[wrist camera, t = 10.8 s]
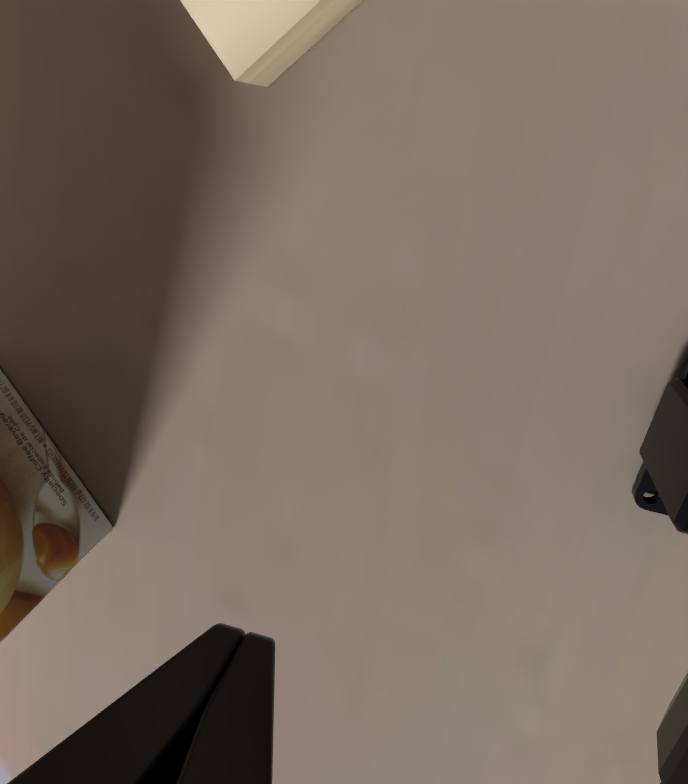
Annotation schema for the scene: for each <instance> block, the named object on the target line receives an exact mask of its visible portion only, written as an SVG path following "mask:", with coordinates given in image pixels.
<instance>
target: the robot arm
mask: <svg viewBox="0 0 688 784" xmlns="http://www.w3.org/2000/svg"><path fill="white" fill-rule="evenodd" d="M640 455H641V457H642V459H643V461H644V462H643V464H642V466H641V469H640V471H639V473H638V476H637V478H636V480H635V483H634V485H633V488H632V494H633V497H634V499H635V502H636V504H637V505H638V506H639V507H640V508H643V509H645V510H649V511H653V512H657V513H661V514H665V515H669V517H670V519H671V521H672V523H673V524H674V526H675V528H676V529H677V530H678V531H679V532H682V533H686V534H688V359H687V362H686V364H685V366H684V369H683V371H682V373H681V376H680V378H676V379H674V380H672V381H671V382H669V383H668V384H667V386H666V389H665V391H664V394H663V396H662V398H661V401H660V403H659V405H658V408H657V410H656V413H655V415H654V417H653V420H652V422H651V424H650V427H649V429H648V431H647V434H646V436H645V439H644V441H643V443H642V446H641V448H640ZM649 490H655V491H657V493H656V494H655V495H654V496H652V497H645V496H643V495H644V493H645V492H647V491H649ZM274 678H275V641H274V640H273V639H272V638H270V637H266V636H263V635H259V634H256V633H253V632H249V633H247V634H245V632H244V631H243V630H242V629H239V628H236V627H233V626H229V625H226V624H221V623H219V624H216V625H214V626H212V627H211V628H210V629H209V630H207V631H206V632H205V633H203V634H202V635H201V636H199V637H198V638H197V639H195V640H194V641H193V642H192V643H190V644H189V645H188V646H186V647H185V648H184V649H182V650H181V651H180V652H179V653H177V654H176V655H175V656H173V657H172V658H171V659H169V660H168V661H167V662H165V663H164V664H163V665H162V666H160V667H159V668H158V669H156V670H155V671H154V672H152V673H151V674H150V675H148V676H147V677H146V678H145V679H143V680H142V681H141V682H139V683H138V684H137V685H135V686H134V687H133V688H132V689H130V690H129V691H128V692H126V693H125V694H124V695H122V696H121V697H120V698H118V699H117V700H116V701H115V702H113V703H112V704H111V705H109V706H108V707H107V708H105V709H104V710H103V711H101V712H100V713H99V714H98V715H96V716H95V717H94V718H92V719H91V720H90V721H88V722H87V723H86V724H85V725H83V726H82V727H81V728H79V729H78V730H77V731H75V732H74V733H73V734H71V735H70V736H69V737H68V738H66V739H65V740H64V741H62V742H61V743H60V744H58V745H57V746H56V747H54V748H53V749H52V750H51V751H49V752H48V753H47V754H45V755H44V756H43V757H41V758H40V759H39V760H38V761H36V762H35V763H34V764H32V765H31V766H30V767H28V768H27V769H26V770H24V771H23V772H22V773H21V774H19V775H18V776H17V777H15V778H14V779H13V780H11V781H10V782H9V783H7V784H272V765H273V721H274ZM657 748H658V769H659V775H660V779H661V783H660V784H688V673H687V675H686V676H685V678H684V680H683V682H682V683H681V685H680V687H679V689H678V691H677V692H676V694H675V696H674V698H673V699H672V701H671V703H670V705H669V707H668V709H667V711H666V713H665V715H664V718H663V720H662V722H661V724H660V726H659V728H658V730H657Z"/></svg>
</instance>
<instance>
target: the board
mask: <svg viewBox="0 0 688 784" xmlns="http://www.w3.org/2000/svg"><path fill="white" fill-rule="evenodd" d="M180 1H181V2H182V4H183V5H184V7H185V8H186V10H187V11H188V13H189V14H190V15H191V17H192V18H193V20H194V21H195V23H196V24H197V26H198V27H199V29H200V30H201V32H202V33H203V35H204V36H205V38H206V39H207V40H208V42H209V43H210V45H211V46H212V48H213V49H214V51H215V52H216V54H217V55H218V57H219V58H220V60H221V61H222V63H223V64H224V66H225V67H226V68H227V70H228V71H229V73H230V74H231V76H232V77H233V79H234V80H235V81H239V82H244V83H249V84H254V85H259V86H264V87H268V86H269V85H270V84H271V83H272V82H274V81H275V80H276V79H277V78H278V77H279V76H280V75H281V74H282V73H283V72H285V71H286V70H287V69H288V68H289V67H290V66H291V65H292V64H293V63H295V62H296V61H297V60H298V59H299V58H300V57H301V56H302V55H303V54H305V53H306V52H307V51H308V50H309V49H310V48H311V47H312V46H313V45H314V44H316V43H317V42H318V41H319V40H320V39H321V38H322V37H323V36H324V35H326V34H327V33H328V32H329V31H330V30H331V29H332V28H333V27H334V26H336V25H337V24H338V23H339V22H340V21H341V20H342V19H343V18H344V17H345V16H347V15H348V14H349V13H350V12H351V11H352V10H353V9H354V8H355V7H357V6H358V5H359V4H360V3H361V2H362V1H363V0H180Z"/></svg>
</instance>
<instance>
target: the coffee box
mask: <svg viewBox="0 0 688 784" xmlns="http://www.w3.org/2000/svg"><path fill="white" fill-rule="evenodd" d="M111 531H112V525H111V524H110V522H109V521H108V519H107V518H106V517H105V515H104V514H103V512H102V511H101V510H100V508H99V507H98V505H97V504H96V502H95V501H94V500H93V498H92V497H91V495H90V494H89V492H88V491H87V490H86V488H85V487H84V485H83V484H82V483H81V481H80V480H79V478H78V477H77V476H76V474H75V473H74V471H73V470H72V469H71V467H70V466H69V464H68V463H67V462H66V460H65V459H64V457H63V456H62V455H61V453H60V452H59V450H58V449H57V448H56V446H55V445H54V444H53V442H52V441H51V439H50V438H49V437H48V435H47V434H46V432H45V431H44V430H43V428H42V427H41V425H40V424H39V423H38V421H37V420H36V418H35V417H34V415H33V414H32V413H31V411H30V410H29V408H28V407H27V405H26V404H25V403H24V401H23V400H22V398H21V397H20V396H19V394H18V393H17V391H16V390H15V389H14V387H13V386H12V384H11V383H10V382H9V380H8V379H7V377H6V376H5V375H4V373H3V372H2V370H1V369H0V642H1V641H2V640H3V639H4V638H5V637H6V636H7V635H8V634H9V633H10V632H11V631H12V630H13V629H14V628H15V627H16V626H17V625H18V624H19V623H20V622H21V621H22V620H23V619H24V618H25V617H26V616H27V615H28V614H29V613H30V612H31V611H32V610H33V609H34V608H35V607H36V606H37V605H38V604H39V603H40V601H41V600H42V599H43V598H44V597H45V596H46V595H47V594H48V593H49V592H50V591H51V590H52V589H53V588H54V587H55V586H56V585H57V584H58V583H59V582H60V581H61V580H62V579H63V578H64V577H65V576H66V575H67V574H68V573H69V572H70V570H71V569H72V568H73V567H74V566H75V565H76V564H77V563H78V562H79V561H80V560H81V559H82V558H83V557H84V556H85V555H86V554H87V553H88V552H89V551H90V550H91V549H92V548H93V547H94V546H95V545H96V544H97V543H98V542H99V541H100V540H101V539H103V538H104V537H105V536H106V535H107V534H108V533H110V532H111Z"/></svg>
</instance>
